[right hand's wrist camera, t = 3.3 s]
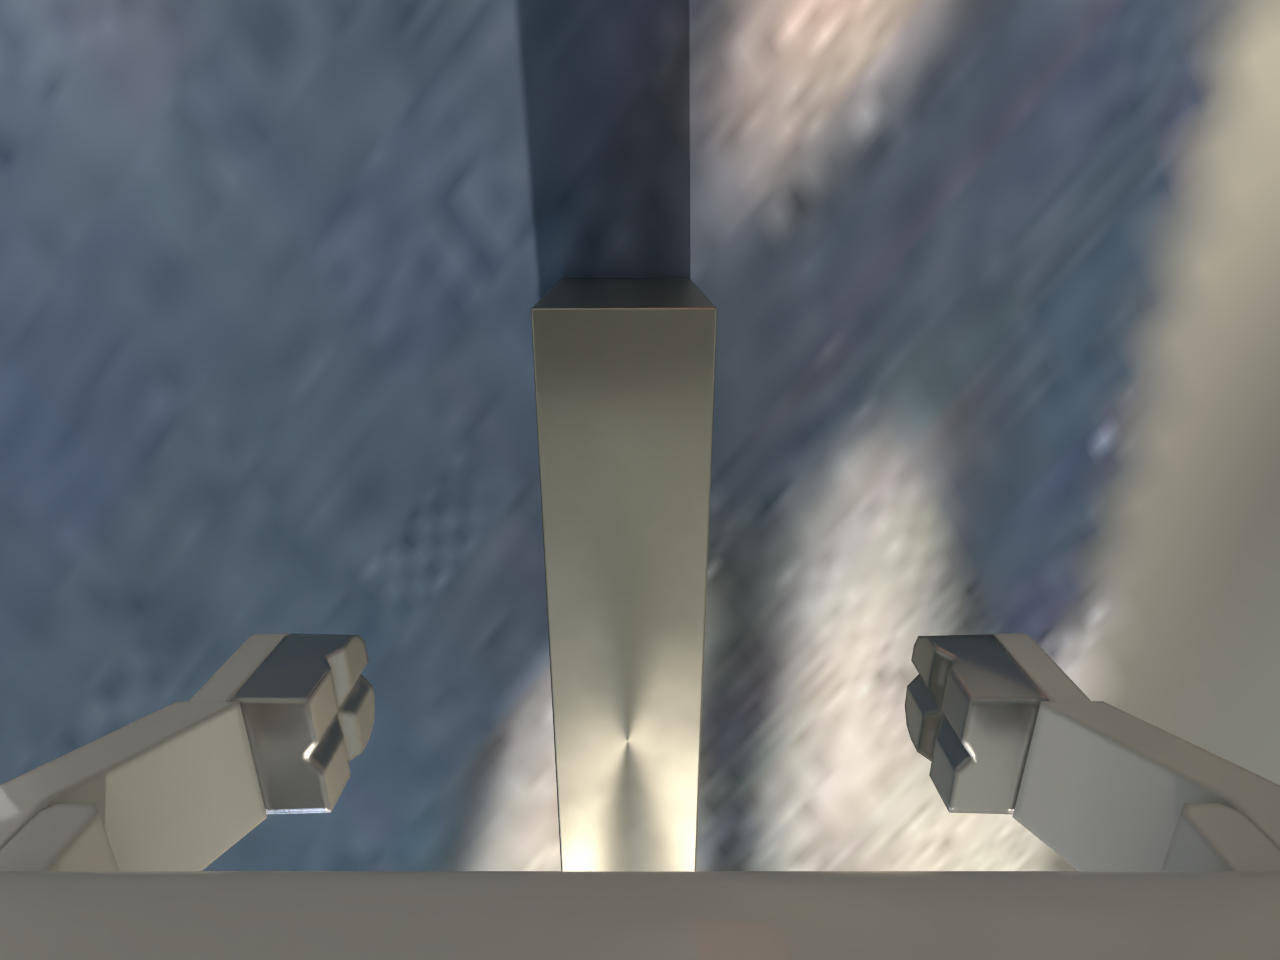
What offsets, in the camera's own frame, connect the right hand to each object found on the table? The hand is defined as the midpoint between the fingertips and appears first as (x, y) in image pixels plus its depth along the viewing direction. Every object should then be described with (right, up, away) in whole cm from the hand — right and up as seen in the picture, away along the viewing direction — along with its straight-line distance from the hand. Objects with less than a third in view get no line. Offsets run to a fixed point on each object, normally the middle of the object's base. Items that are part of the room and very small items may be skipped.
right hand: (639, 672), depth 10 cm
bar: (0, -2, +19) cm, 19 cm away
